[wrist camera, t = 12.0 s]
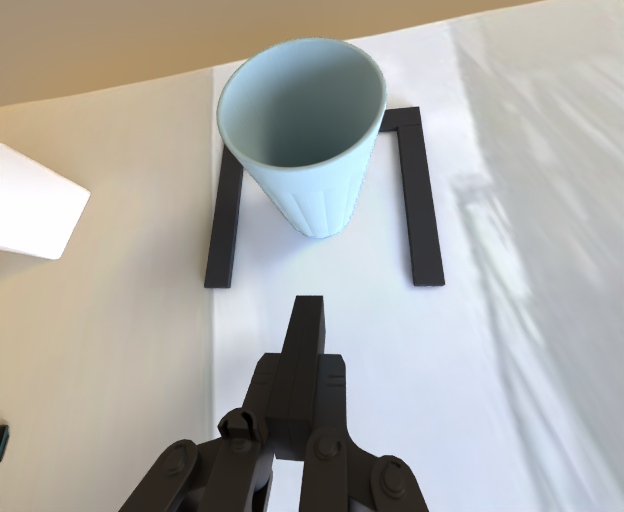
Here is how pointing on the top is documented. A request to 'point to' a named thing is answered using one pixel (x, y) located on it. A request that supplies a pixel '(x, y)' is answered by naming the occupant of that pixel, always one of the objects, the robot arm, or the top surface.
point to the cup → (306, 127)
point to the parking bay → (415, 195)
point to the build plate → (3, 439)
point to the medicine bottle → (36, 206)
